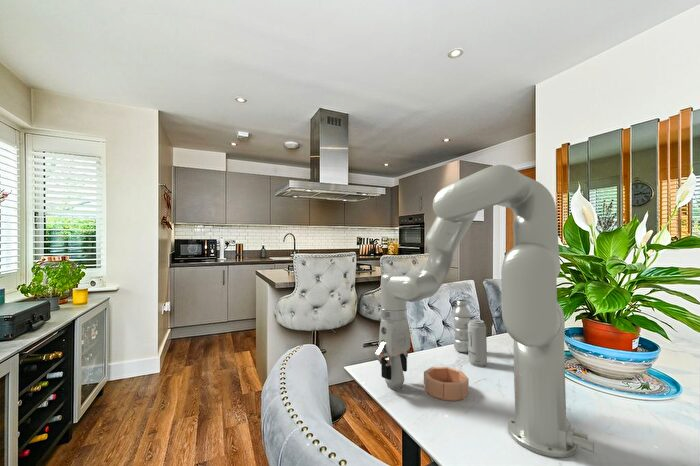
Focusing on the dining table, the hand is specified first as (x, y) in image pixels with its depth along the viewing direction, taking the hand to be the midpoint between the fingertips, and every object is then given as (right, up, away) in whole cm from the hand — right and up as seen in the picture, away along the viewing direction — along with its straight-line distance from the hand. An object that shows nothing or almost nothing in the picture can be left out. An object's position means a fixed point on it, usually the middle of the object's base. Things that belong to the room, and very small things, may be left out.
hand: (394, 373), depth 89 cm
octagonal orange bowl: (+14, -4, -3) cm, 15 cm away
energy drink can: (+32, -4, +16) cm, 36 cm away
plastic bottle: (+31, -5, +28) cm, 42 cm away
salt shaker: (0, -4, 0) cm, 4 cm away
